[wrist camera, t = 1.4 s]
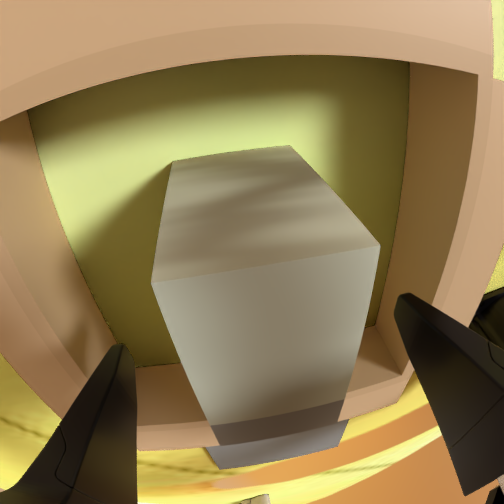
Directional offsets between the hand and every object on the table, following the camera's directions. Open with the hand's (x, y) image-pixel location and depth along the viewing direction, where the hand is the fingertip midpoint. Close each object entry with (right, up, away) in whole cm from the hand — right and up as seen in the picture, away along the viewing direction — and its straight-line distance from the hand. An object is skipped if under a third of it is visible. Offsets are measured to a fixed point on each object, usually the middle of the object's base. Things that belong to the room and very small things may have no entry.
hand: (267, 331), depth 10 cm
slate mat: (+2, -14, +16) cm, 22 cm away
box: (-1, +3, +4) cm, 5 cm away
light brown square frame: (-1, +3, +4) cm, 5 cm away
